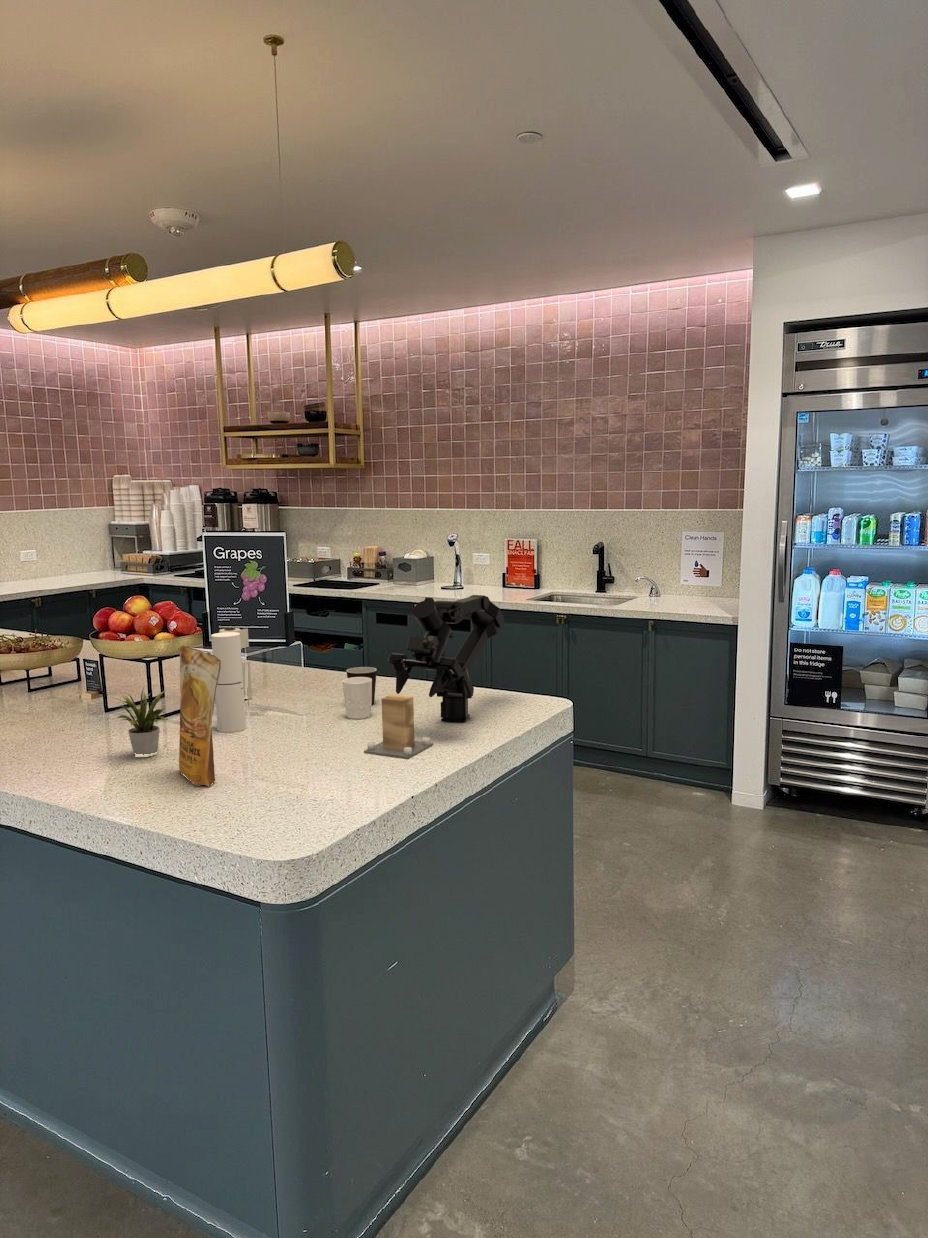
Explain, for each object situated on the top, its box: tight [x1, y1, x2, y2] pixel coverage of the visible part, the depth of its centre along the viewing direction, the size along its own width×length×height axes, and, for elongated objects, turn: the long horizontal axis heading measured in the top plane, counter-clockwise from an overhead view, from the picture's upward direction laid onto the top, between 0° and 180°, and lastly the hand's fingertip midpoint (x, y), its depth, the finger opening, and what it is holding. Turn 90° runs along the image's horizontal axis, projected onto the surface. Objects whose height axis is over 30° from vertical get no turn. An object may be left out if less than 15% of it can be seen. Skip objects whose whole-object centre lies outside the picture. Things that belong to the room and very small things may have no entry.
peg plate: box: [363, 736, 435, 760], centre depth 214 cm, size 12×12×2 cm
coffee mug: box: [345, 666, 378, 706], centre depth 259 cm, size 12×9×10 cm
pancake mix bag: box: [178, 645, 221, 788], centre depth 195 cm, size 7×19×28 cm, turn 35°
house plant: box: [112, 687, 167, 755], centre depth 212 cm, size 14×14×16 cm
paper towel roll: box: [218, 627, 253, 700], centre depth 264 cm, size 7×6×21 cm
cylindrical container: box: [210, 632, 247, 734], centre depth 233 cm, size 7×7×25 cm
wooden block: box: [381, 693, 416, 751], centre depth 213 cm, size 4×6×12 cm
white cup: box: [342, 677, 373, 720], centre depth 245 cm, size 8×8×10 cm
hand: (413, 694), depth 219 cm, fingers open, 9 cm apart
